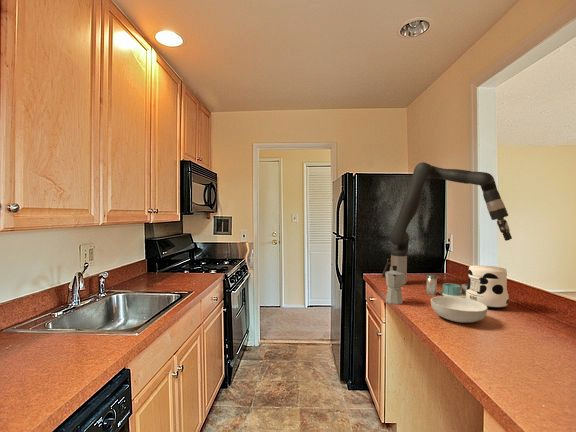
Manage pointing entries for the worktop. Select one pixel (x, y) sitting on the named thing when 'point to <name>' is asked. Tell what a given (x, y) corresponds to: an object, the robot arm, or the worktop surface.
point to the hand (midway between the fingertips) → (508, 239)
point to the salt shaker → (431, 284)
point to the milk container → (488, 286)
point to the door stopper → (386, 268)
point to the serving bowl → (458, 309)
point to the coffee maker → (394, 286)
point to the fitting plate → (454, 290)
